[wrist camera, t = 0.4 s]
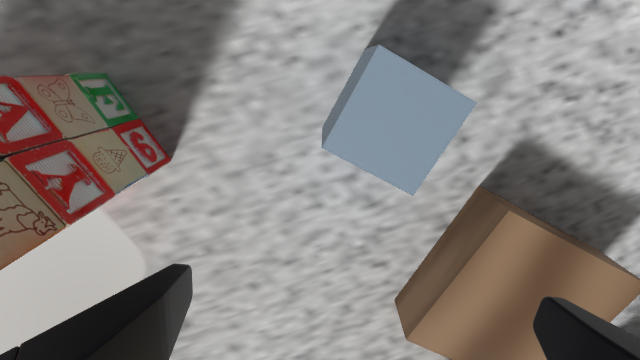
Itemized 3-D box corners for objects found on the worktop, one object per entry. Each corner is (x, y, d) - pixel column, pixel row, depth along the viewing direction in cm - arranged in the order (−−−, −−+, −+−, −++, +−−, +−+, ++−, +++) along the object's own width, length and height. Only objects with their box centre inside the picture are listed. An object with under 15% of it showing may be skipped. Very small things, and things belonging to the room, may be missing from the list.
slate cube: (439, 92, 19) (476, 102, 15) (393, 165, 21) (413, 195, 16) (365, 48, 18) (379, 44, 14) (322, 127, 20) (321, 147, 15)
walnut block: (595, 248, 23) (648, 285, 19) (502, 346, 26) (533, 395, 22) (476, 183, 21) (509, 210, 18) (393, 296, 24) (405, 339, 21)
